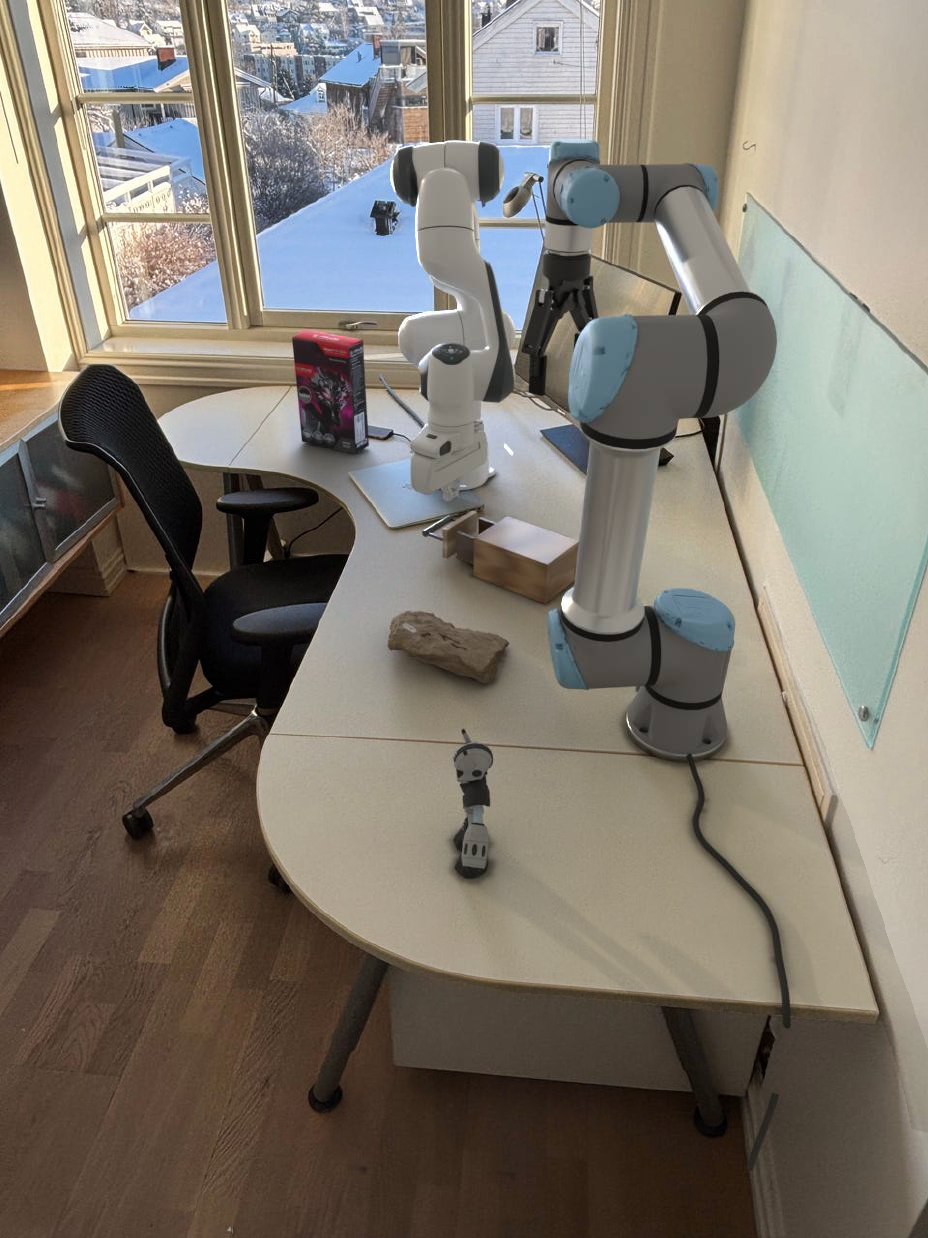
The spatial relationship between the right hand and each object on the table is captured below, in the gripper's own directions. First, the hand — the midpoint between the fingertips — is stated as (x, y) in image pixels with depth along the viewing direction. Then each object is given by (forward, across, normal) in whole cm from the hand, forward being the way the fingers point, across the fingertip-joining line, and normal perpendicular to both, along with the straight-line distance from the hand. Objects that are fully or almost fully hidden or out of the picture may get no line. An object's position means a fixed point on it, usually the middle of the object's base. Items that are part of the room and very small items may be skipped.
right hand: (558, 382), depth 156 cm
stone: (+40, +31, -1) cm, 51 cm away
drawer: (+39, 0, -17) cm, 43 cm away
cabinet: (+40, 0, -5) cm, 41 cm away
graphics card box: (+40, -24, -79) cm, 92 cm away
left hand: (+29, 0, -23) cm, 37 cm away
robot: (+40, +63, +29) cm, 80 cm away
